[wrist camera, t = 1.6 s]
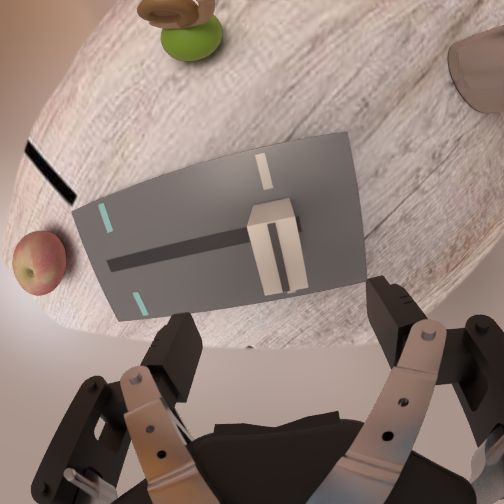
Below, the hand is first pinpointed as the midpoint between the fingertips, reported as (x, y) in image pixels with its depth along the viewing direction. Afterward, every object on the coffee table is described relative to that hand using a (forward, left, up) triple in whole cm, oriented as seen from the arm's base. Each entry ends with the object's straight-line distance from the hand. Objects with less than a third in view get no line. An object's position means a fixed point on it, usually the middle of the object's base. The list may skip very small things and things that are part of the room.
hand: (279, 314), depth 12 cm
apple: (+28, -3, -16) cm, 33 cm away
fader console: (+6, 0, -16) cm, 17 cm away
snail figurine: (+2, -19, -16) cm, 25 cm away
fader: (0, 0, -12) cm, 12 cm away
